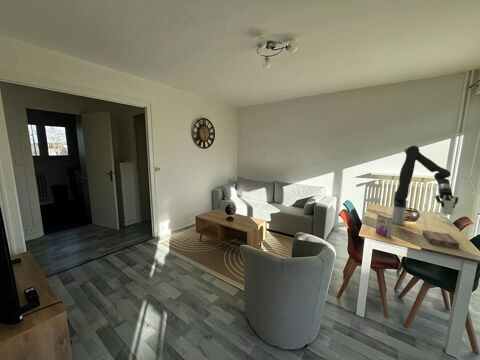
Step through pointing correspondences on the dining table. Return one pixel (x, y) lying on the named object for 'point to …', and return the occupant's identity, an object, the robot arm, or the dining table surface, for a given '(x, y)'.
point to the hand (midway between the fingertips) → (448, 207)
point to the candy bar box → (384, 225)
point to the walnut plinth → (440, 239)
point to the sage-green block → (447, 207)
